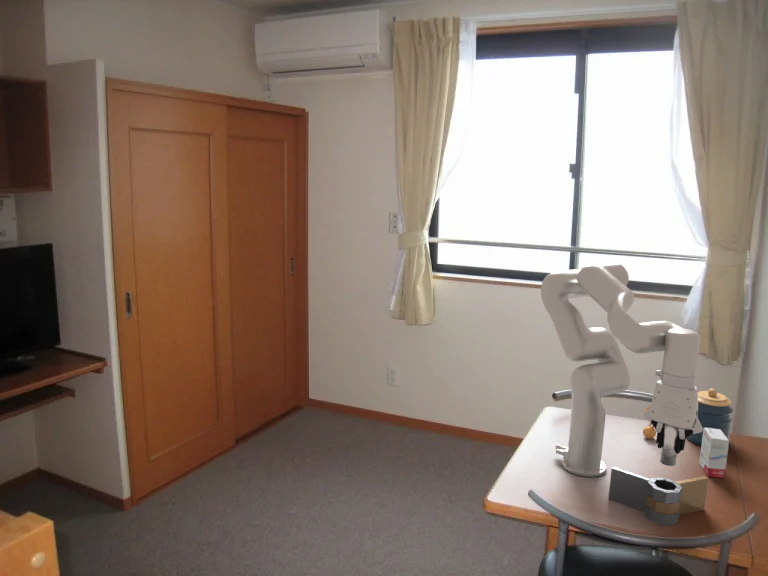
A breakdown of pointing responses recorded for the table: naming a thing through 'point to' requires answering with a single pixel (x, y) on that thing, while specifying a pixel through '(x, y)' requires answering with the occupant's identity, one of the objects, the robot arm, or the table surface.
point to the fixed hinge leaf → (644, 493)
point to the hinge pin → (669, 445)
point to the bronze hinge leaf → (684, 498)
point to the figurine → (649, 429)
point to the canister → (712, 413)
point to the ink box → (714, 452)
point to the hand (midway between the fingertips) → (669, 448)
